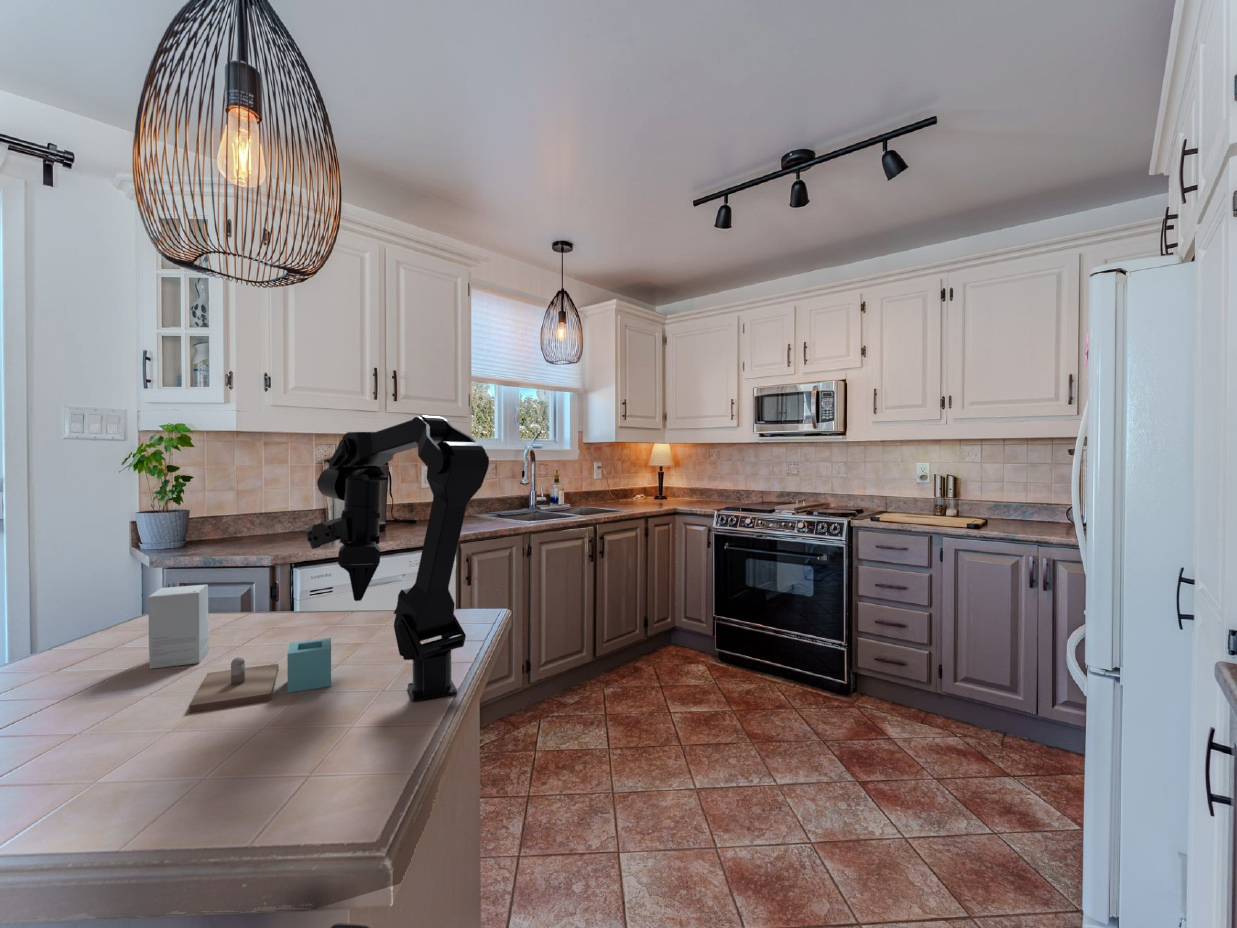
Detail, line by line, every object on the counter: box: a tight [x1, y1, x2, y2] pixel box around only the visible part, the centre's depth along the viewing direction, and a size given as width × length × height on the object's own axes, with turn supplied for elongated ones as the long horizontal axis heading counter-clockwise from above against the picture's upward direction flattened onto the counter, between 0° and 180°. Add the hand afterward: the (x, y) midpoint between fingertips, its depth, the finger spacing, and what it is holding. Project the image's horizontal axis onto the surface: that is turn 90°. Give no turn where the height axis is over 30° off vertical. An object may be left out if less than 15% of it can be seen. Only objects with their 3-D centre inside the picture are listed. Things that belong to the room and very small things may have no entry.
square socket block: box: [286, 637, 332, 694], centre depth 94 cm, size 6×6×6 cm
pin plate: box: [188, 657, 279, 713], centre depth 91 cm, size 14×10×5 cm
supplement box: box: [147, 584, 210, 670], centre depth 104 cm, size 7×7×13 cm
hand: (358, 592), depth 103 cm, fingers open, 9 cm apart
